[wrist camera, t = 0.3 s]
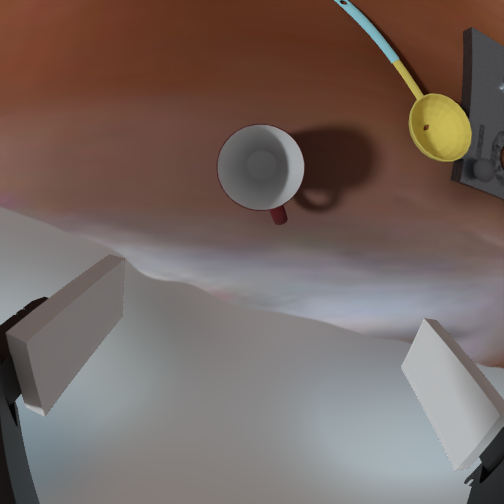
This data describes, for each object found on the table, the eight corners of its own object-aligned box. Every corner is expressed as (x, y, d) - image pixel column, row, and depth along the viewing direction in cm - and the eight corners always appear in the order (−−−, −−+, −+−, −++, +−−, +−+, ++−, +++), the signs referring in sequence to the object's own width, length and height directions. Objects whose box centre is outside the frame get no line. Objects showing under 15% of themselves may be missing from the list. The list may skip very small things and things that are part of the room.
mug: (315, 197, 38) (332, 211, 29) (257, 226, 40) (254, 249, 30) (275, 120, 36) (279, 108, 26) (216, 151, 37) (200, 149, 28)
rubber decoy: (471, 154, 33) (484, 155, 30) (487, 161, 33) (500, 163, 30) (467, 177, 34) (480, 179, 31) (483, 183, 34) (497, 186, 31)
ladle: (424, 178, 36) (440, 173, 31) (311, 26, 36) (309, 4, 31) (469, 148, 34) (487, 141, 29) (358, 5, 34) (361, -17, 29)
